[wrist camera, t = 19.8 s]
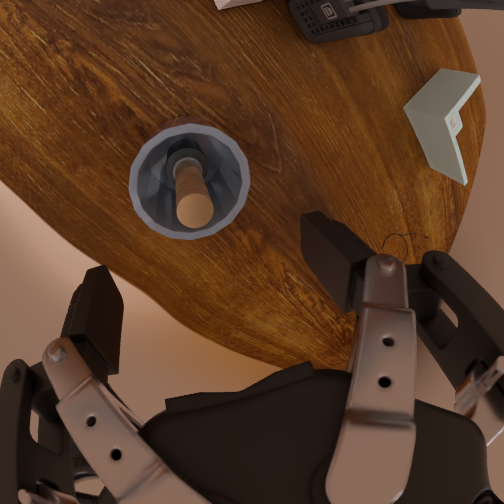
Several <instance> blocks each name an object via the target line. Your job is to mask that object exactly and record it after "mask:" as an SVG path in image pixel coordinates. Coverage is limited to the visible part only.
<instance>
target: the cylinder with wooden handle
mask: <svg viewBox="0 0 504 504" xmlns="http://www.w3.org/2000/svg"><path fill="white" fill-rule="evenodd" d="M165 170H166V175H167V178H168V180H169V181H170V182H171V183H172V184H173V185H175V188H176V212H177V217H178V219H179V221H180V222H181V223H182V224H183V225H185V226H187V227H190V228H199V227H202V226H204V225H206V224H207V223H208V222H209V221H210V220H211V218H212V216H213V213H214V206H213V203H212V201H211V198H210V195H209V192H208V190H207V187H206V184H205V181H204V179H205V178H206V176H207V173H208V161H207V159H206V157H205V155H204V153H203V151H202V149H201V147H200V146H199V144H198V143H196V142H195V141H193V140H190V139H181V140H178V141H176V142H175V143H173V144H172V145H171V147H170V148H169V150H168V153H167V159H166V168H165Z"/></svg>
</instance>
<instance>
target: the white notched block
mask: <svg viewBox="0 0 504 504" xmlns="http://www.w3.org/2000/svg"><path fill="white" fill-rule="evenodd" d="M261 1H262V0H214V2H215V4H216V6H217V8H218V10H222V9H226V8H230V7H235V6H239V5H245V4H250V3H256V2H261Z"/></svg>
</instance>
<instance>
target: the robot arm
mask: <svg viewBox="0 0 504 504" xmlns="http://www.w3.org/2000/svg"><path fill="white" fill-rule="evenodd" d="M300 230H301V251H302V255H303V258H304V260H305V262H306V263H307V264H308V266H309V267H310V268H311V270H312V271H313V272H314V274H315V275H316V277H317V278H318V279H319V281H320V282H321V283H322V285H323V286H324V287H325V289H326V290H327V292H328V293H329V294H330V296H331V297H332V299H333V300H334V301H335V303H336V304H337V306H338V307H339V308H340V310H341V311H342V313H343V314H345V313H348V312H351V311H353V310H354V311H355V312H356V314H357V315H356V320H355V326H354V332H353V338H352V344H351V349H350V355H349V359H348V364H347V368H346V371H342V370H336V369H315V370H314V368H313V366H312V365H311V363H310V361H306V362H304V363H301V364H298V365H295V366H292V367H289V368H286V369H283V370H280V371H277V372H274V373H273V374H271V375H269V376H267V377H266V378H264V379H262V380H260V381H259V382H257V383H255V384H253V385H251V386H249V387H248V388H246V389H244V390H242V391H239V392H199V393H194V394H189V395H184V396H179V397H174V398H169V399H165V404H166V410H164V411H162V412H160V413H158V414H157V415H155V416H154V417H152V418H151V419H150V420H148V421H147V422H146V423H144V422H143V421H141V419H140V418H138V416H137V415H136V414H135V413H134V412H133V411H132V410H131V409H130V408H129V407H128V405H127V404H126V403H125V402H124V401H123V400H122V398H121V397H120V396H119V395H118V394H117V392H116V391H115V390H114V389H113V388H112V386H111V385H110V384H109V383H108V375H114V374H118V373H119V355H120V340H121V329H122V320H123V310H124V304H123V299H122V296H121V294H120V292H119V290H118V288H117V286H116V284H115V282H114V280H113V278H112V276H111V274H110V272H109V270H108V268H107V267H106V266H105V265H101V266H98V267H94V268H91V269H88V270H87V272H86V274H85V277H84V280H83V283H82V284H80V285H79V286H78V288H77V289H76V291H75V292H74V293H73V296H72V299H71V302H70V304H71V305H69V308H68V313H67V315H66V318H65V321H64V325H63V328H62V332H61V336H60V338H57V339H55V340H54V341H52V342H51V343H50V344H49V345H48V346H47V348H46V349H45V351H44V353H43V356H42V361H41V362H39V363H37V364H35V365H33V366H31V367H29V366H28V365H27V364H26V363H25V362H24V361H23V360H22V359H16V360H14V361H12V362H11V363H10V364H9V365H8V366H7V368H6V369H5V371H4V374H3V378H2V382H1V387H0V504H504V503H503V502H502V501H501V500H500V499H499V498H498V497H497V496H496V495H495V494H494V493H493V491H492V489H491V486H490V482H489V478H488V470H487V445H489V444H490V443H491V442H492V441H493V440H494V439H495V438H496V437H497V436H498V435H499V434H500V433H501V432H502V431H503V430H504V310H503V309H502V308H501V306H500V305H499V304H498V303H497V302H496V301H495V300H494V299H493V298H492V297H491V296H490V294H489V293H488V292H487V291H486V290H485V289H484V288H483V287H482V286H481V285H480V284H479V283H478V282H477V281H476V280H475V279H474V278H473V277H472V276H471V275H470V274H469V273H468V272H466V270H464V269H463V268H462V267H461V266H460V265H459V264H458V263H457V262H456V261H455V260H454V259H453V258H451V257H450V256H449V255H447V254H446V253H443V252H441V251H434V250H433V251H428V252H426V253H425V254H424V255H423V258H422V262H421V264H412V265H404V263H403V262H402V261H401V260H400V259H398V258H396V257H394V256H392V255H388V254H377V253H375V252H374V251H373V250H372V249H371V248H370V247H369V246H368V245H367V244H366V243H365V242H364V241H362V240H361V239H360V238H359V237H357V235H356V234H355V233H354V232H352V231H351V230H350V229H349V228H348V227H347V226H346V225H344V224H343V223H340V222H338V221H336V220H330V219H328V218H327V217H326V216H325V215H324V214H323V213H322V212H320V211H315V212H311V213H306V214H302V215H301V217H300ZM443 301H444V302H445V303H446V304H447V305H448V306H449V307H450V308H451V310H452V311H453V312H454V313H455V314H456V316H457V319H458V327H457V328H456V327H455V325H454V324H453V323H452V322H451V320H450V319H449V318H448V317H447V315H446V314H445V313H444V312H443V311H442V309H441V306H442V303H443ZM416 333H417V334H418V336H419V337H420V339H421V340H422V341H423V343H424V344H425V346H426V347H427V348H428V350H429V351H430V353H431V354H432V356H433V357H434V359H435V360H436V361H437V363H438V364H439V366H440V367H441V369H442V370H443V372H444V373H445V375H446V376H447V378H448V380H449V381H450V383H451V384H452V386H453V387H454V389H455V390H456V393H455V400H456V403H455V405H454V410H455V412H456V413H455V412H452V411H449V410H446V409H443V408H440V407H437V406H435V405H432V404H429V403H426V402H423V401H421V400H417V399H415V388H416V365H417V363H416V362H417V359H416V358H417V341H416ZM31 410H32V411H34V412H35V413H36V414H38V415H39V426H38V443H37V442H35V441H34V440H33V438H32V436H31V434H30V417H31ZM99 479H101V481H102V482H103V483H104V485H105V486H104V488H103V490H102V491H101V493H100V495H95V494H93V495H92V494H89V493H83V492H79V491H75V486H76V485H78V484H80V483H83V482H86V481H93V480H99Z"/></svg>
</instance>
